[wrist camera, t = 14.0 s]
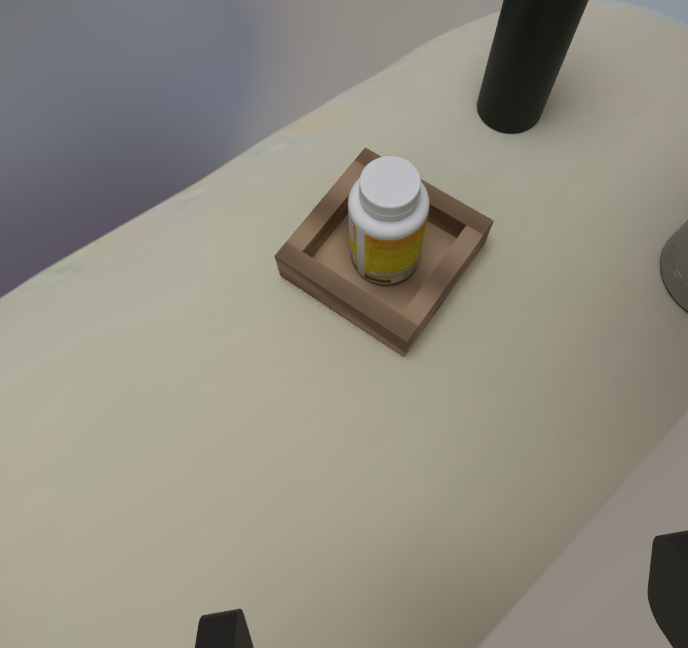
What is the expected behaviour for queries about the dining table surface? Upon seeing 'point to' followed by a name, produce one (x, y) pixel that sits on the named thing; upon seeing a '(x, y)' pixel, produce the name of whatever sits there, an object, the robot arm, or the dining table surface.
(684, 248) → the robot arm
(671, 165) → the dining table surface
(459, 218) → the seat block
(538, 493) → the dining table surface
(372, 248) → the supplement bottle
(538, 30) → the wine bottle
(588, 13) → the dining table surface
